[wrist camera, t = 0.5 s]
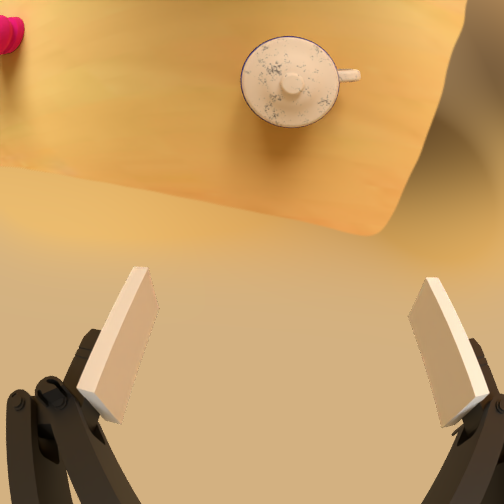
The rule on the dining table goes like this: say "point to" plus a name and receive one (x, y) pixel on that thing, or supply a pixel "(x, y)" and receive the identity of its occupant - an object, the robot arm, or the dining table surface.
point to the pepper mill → (10, 33)
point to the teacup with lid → (292, 81)
